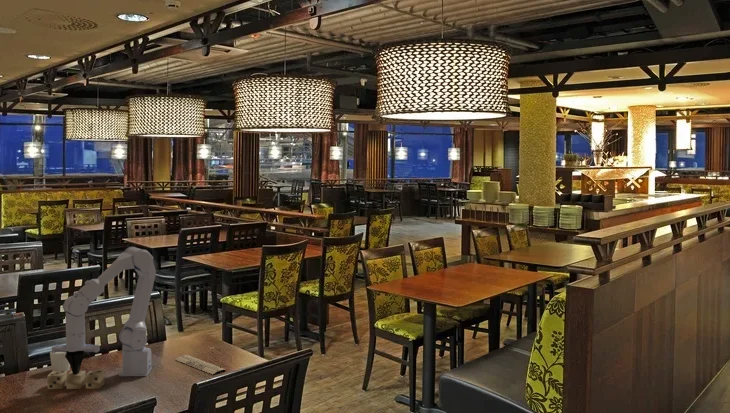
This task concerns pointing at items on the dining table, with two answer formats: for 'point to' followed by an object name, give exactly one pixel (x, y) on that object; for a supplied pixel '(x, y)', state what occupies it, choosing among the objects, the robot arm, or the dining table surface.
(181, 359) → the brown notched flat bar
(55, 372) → the dotted block three
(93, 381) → the dotted block two
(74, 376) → the plain block
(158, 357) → the dining table surface
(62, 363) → the cream short cylinder
